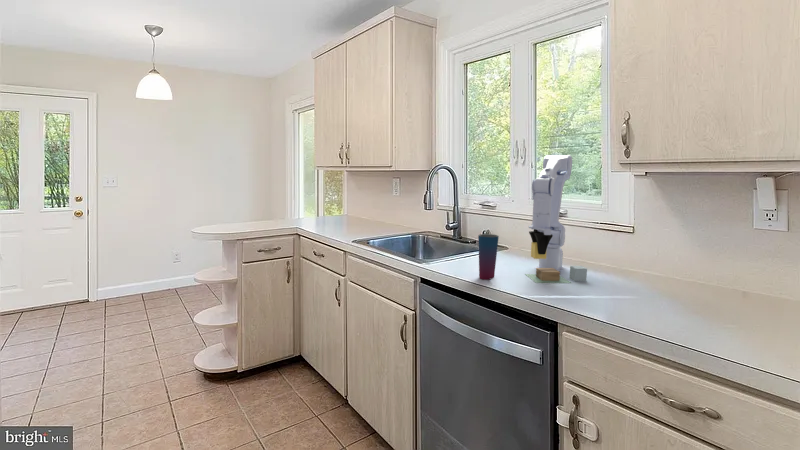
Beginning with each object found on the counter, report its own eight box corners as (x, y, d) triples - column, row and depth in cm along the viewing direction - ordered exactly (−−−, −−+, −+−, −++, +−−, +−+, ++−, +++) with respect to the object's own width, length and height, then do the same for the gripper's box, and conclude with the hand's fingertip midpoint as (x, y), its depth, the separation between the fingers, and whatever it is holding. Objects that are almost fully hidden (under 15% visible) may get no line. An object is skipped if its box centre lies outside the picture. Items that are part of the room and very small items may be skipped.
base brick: (535, 276, 148) (536, 267, 148) (552, 276, 148) (553, 267, 148) (541, 280, 142) (542, 271, 142) (559, 280, 142) (560, 271, 142)
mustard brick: (530, 256, 148) (531, 242, 147) (542, 256, 148) (542, 242, 147) (534, 258, 144) (535, 244, 143) (546, 258, 144) (546, 244, 143)
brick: (569, 280, 146) (570, 265, 145) (580, 280, 146) (581, 266, 146) (574, 283, 142) (575, 268, 141) (586, 283, 142) (587, 268, 142)
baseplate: (524, 275, 151) (524, 274, 151) (557, 276, 151) (558, 274, 151) (535, 284, 139) (535, 282, 139) (571, 284, 139) (572, 283, 139)
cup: (496, 281, 143) (498, 237, 141) (476, 279, 144) (478, 236, 142) (496, 276, 150) (498, 234, 148) (476, 275, 151) (478, 233, 149)
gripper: (523, 211, 151) (521, 248, 153) (536, 215, 137) (534, 256, 138) (543, 211, 151) (541, 249, 153) (558, 215, 137) (556, 257, 138)
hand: (539, 252), depth 145 cm, fingers closed on mustard brick, 4 cm apart
